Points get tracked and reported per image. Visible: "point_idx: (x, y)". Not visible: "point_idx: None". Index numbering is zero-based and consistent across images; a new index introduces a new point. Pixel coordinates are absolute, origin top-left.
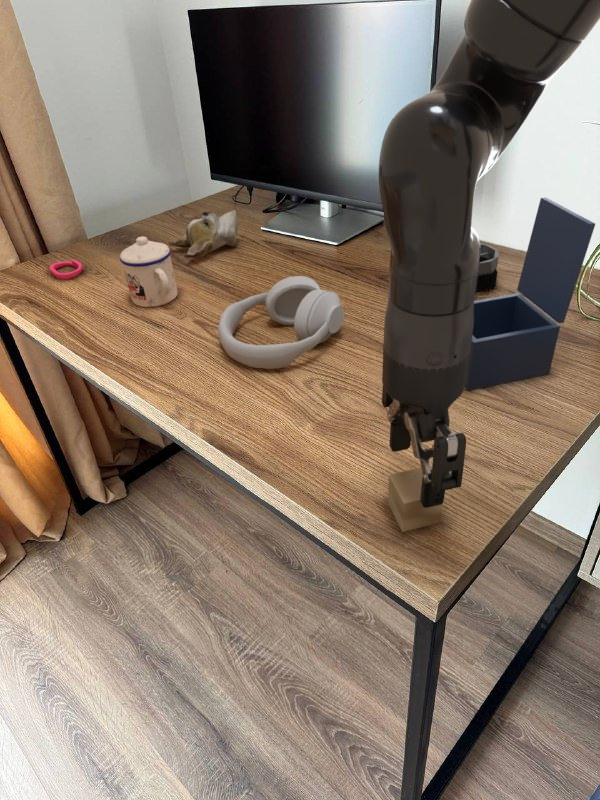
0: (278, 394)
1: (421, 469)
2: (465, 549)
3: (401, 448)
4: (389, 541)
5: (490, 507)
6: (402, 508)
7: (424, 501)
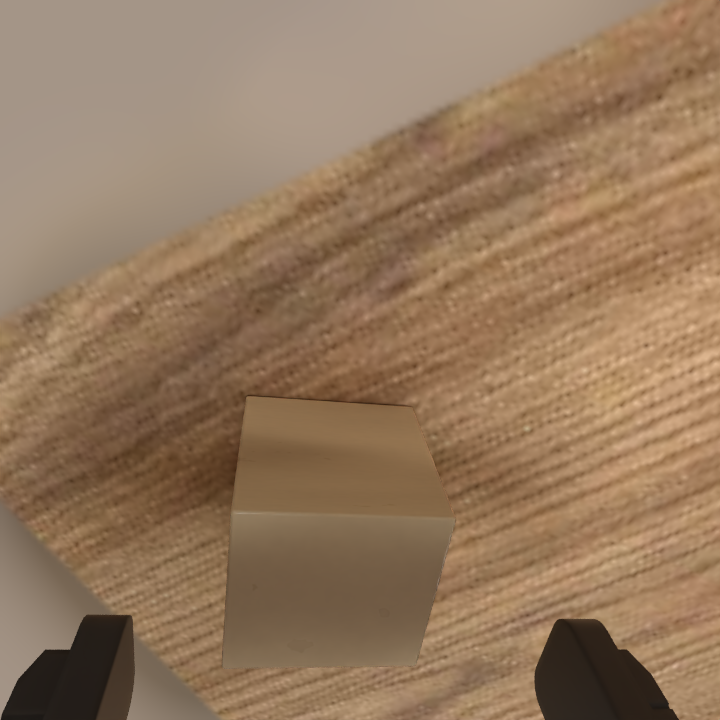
0: None
1: (409, 644)
2: (94, 547)
3: (550, 660)
4: (218, 329)
5: None
6: (250, 476)
7: (68, 661)
